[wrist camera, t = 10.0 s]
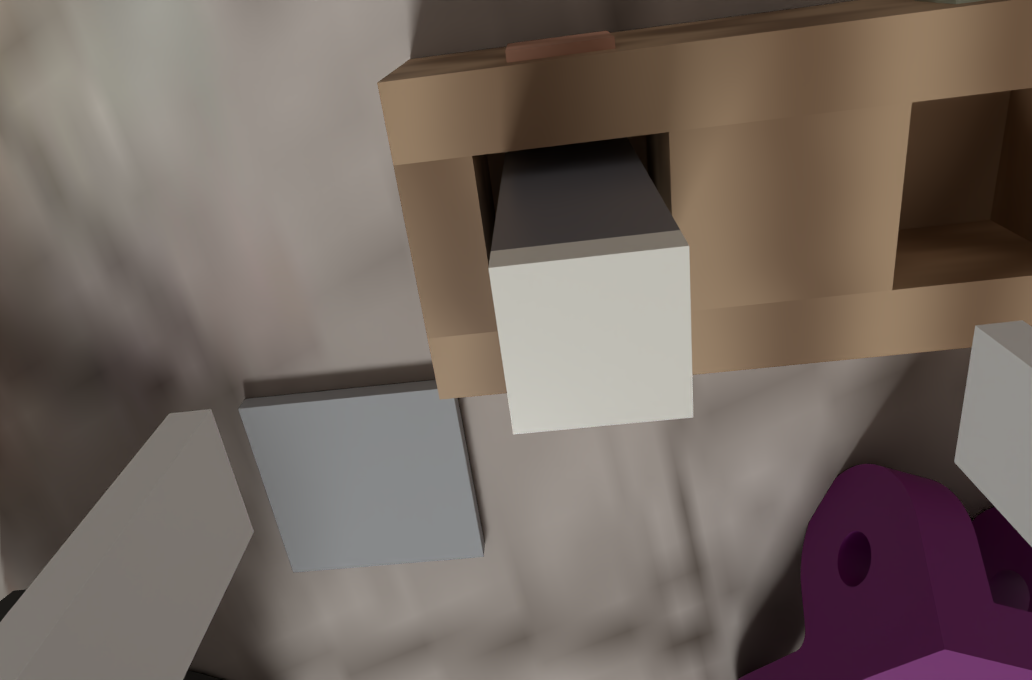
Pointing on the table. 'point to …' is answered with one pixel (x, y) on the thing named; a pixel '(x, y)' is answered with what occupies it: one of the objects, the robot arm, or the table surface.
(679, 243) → the plug
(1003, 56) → the port block
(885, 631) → the mounting bracket
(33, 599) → the robot arm
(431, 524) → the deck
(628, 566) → the table surface
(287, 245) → the table surface
